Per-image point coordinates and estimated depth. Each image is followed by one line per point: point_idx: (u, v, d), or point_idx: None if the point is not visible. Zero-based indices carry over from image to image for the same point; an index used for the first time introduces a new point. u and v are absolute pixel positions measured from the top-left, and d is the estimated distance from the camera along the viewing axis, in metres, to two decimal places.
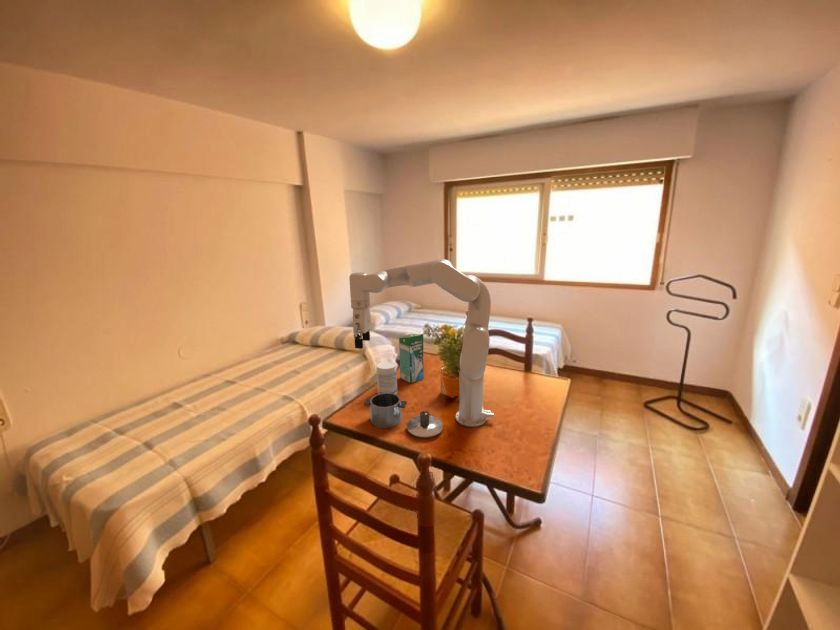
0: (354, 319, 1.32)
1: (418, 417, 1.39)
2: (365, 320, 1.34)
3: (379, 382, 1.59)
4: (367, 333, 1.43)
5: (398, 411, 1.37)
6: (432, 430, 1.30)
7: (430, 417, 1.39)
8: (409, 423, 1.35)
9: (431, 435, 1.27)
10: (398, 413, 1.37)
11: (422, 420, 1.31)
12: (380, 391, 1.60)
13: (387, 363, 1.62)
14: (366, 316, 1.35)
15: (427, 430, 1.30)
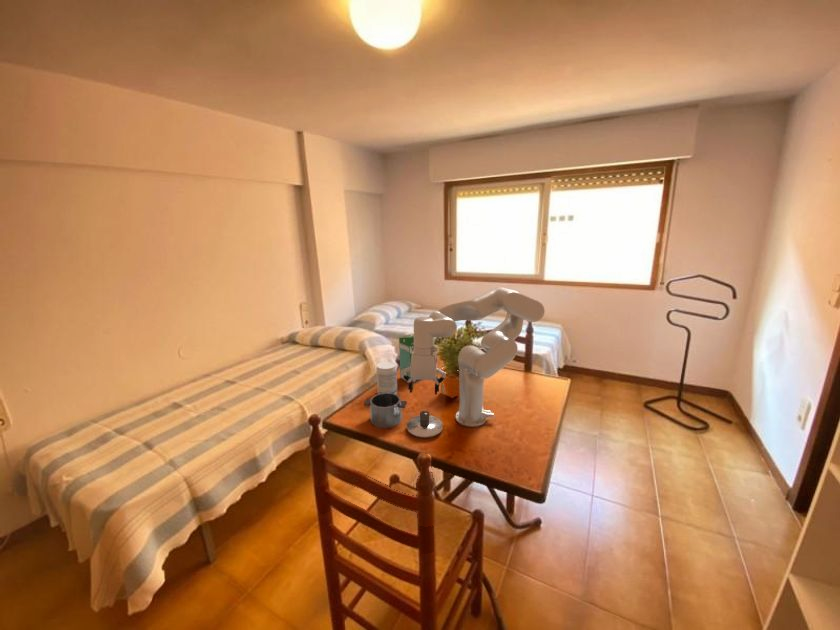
0: (436, 365, 1.25)
1: (418, 417, 1.39)
2: None
3: (379, 382, 1.59)
4: (412, 382, 1.31)
5: (398, 411, 1.37)
6: (432, 430, 1.30)
7: (430, 417, 1.39)
8: (409, 423, 1.34)
9: (431, 435, 1.27)
10: (398, 413, 1.37)
11: (422, 420, 1.31)
12: (380, 391, 1.60)
13: (387, 363, 1.62)
14: None
15: (427, 430, 1.30)
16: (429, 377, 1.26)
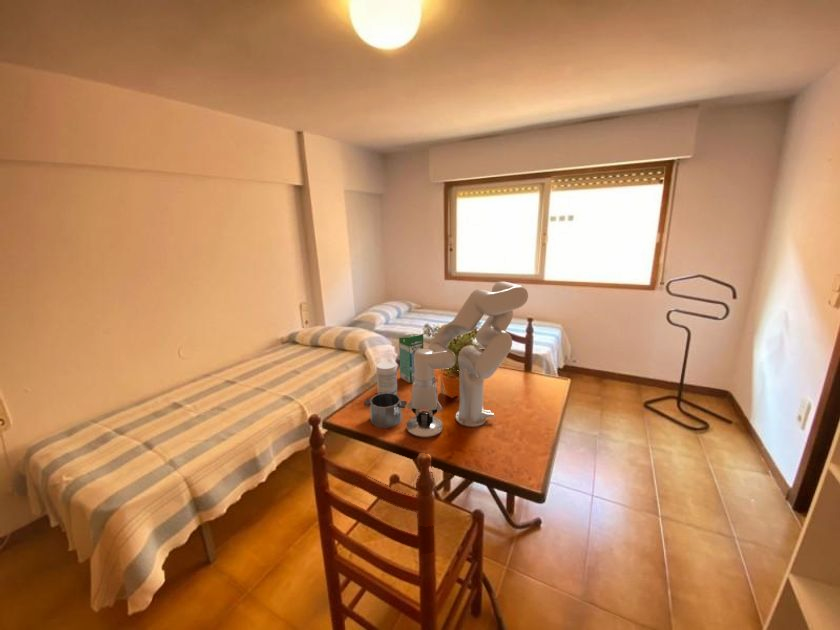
0: (436, 395, 1.28)
1: None
2: None
3: (379, 382, 1.59)
4: None
5: (398, 411, 1.37)
6: (432, 429, 1.30)
7: None
8: (409, 423, 1.34)
9: (432, 434, 1.27)
10: (398, 413, 1.37)
11: (422, 420, 1.31)
12: (380, 391, 1.60)
13: (387, 363, 1.62)
14: None
15: (427, 430, 1.30)
16: (429, 407, 1.29)
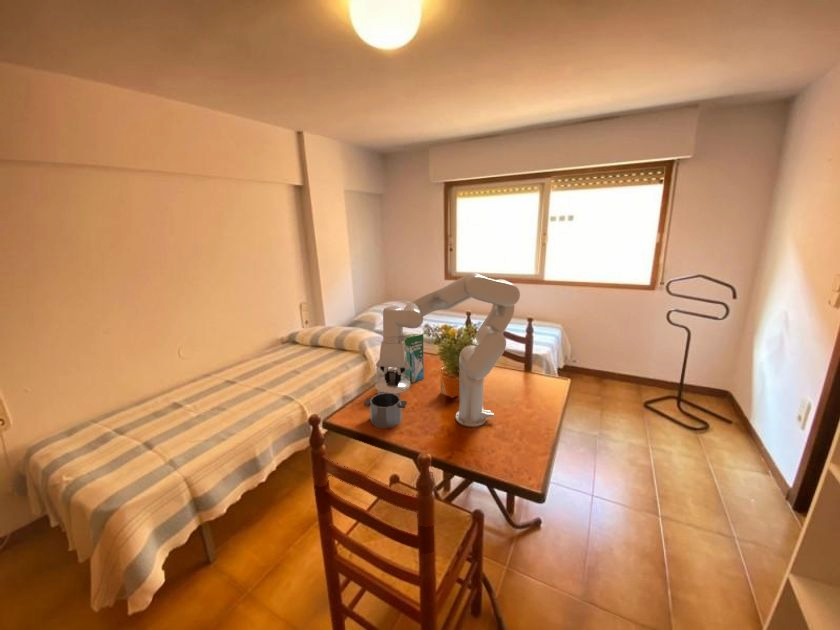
0: (404, 353, 1.30)
1: None
2: None
3: None
4: None
5: (398, 411, 1.37)
6: (400, 387, 1.31)
7: None
8: (377, 382, 1.35)
9: (399, 391, 1.29)
10: (398, 413, 1.37)
11: (390, 378, 1.33)
12: None
13: None
14: None
15: (395, 387, 1.31)
16: (397, 365, 1.30)
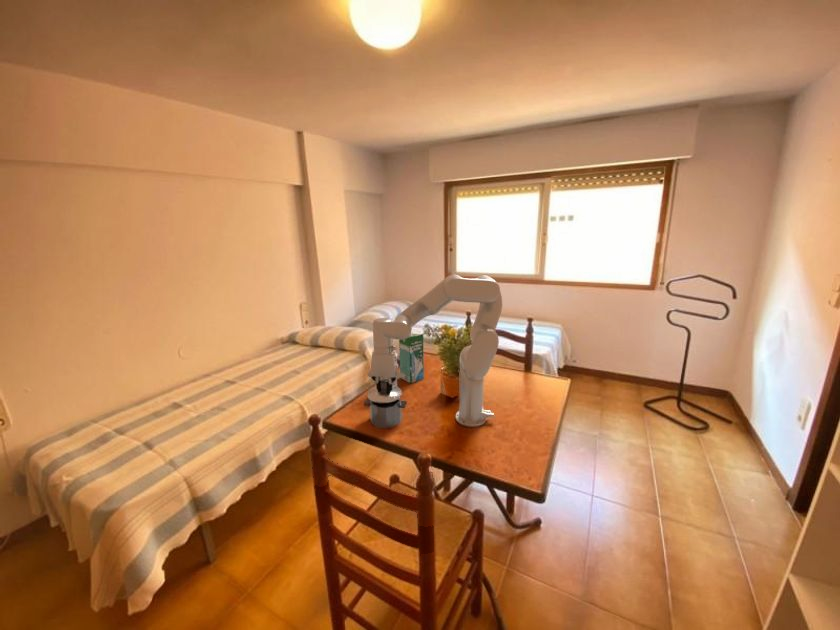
0: (394, 363, 1.33)
1: None
2: None
3: None
4: None
5: (398, 411, 1.37)
6: (391, 396, 1.34)
7: None
8: (369, 391, 1.39)
9: (390, 401, 1.32)
10: (398, 413, 1.37)
11: (381, 387, 1.36)
12: None
13: None
14: None
15: (386, 396, 1.34)
16: (388, 375, 1.34)
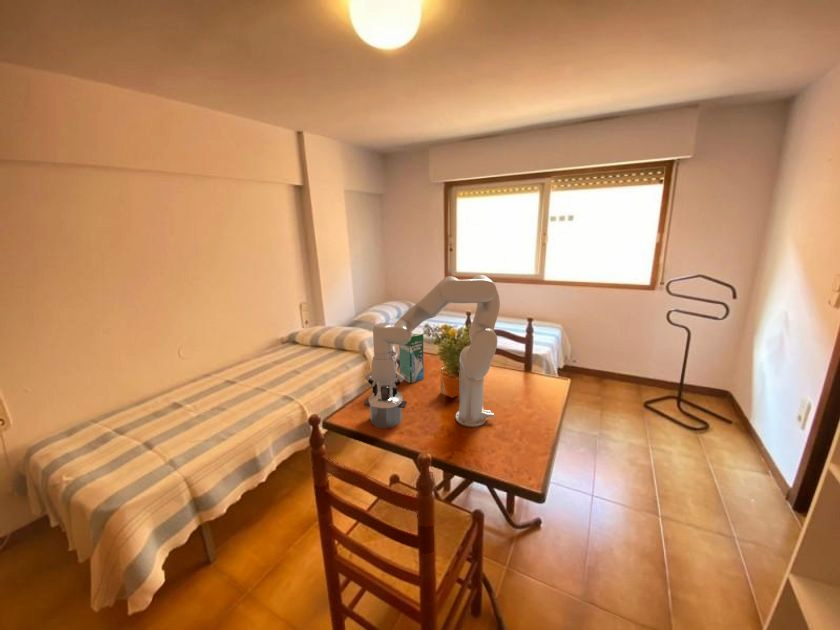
0: (395, 368, 1.34)
1: (380, 392, 1.44)
2: None
3: (379, 382, 1.59)
4: None
5: (398, 411, 1.37)
6: (392, 402, 1.35)
7: (391, 391, 1.44)
8: (370, 397, 1.39)
9: (391, 406, 1.33)
10: (398, 413, 1.37)
11: (382, 393, 1.37)
12: None
13: None
14: None
15: (387, 402, 1.35)
16: (388, 380, 1.34)
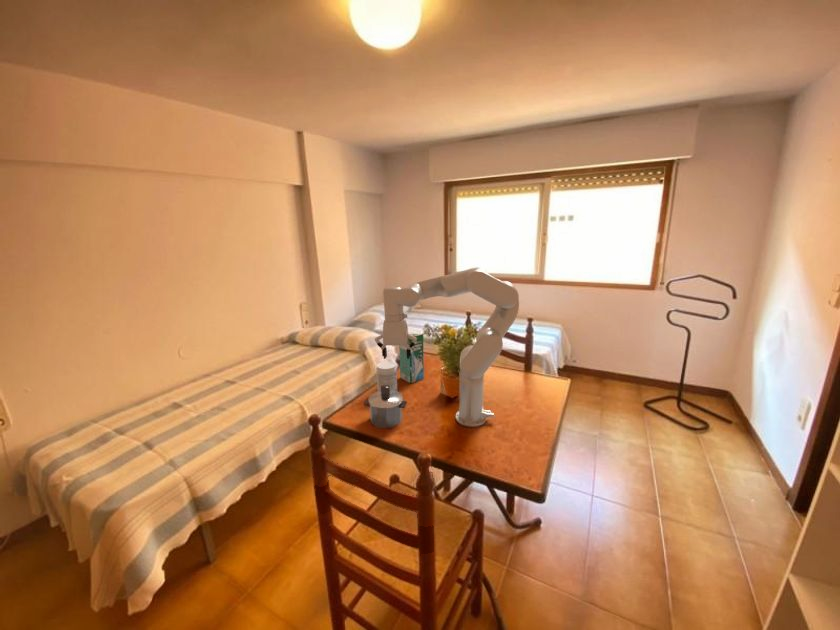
0: (406, 330, 1.35)
1: (380, 392, 1.44)
2: None
3: (379, 382, 1.59)
4: (386, 349, 1.40)
5: (398, 411, 1.37)
6: (392, 402, 1.35)
7: (391, 391, 1.44)
8: (370, 397, 1.39)
9: (391, 406, 1.33)
10: (398, 413, 1.37)
11: (382, 393, 1.37)
12: None
13: (387, 363, 1.62)
14: None
15: (387, 402, 1.35)
16: (400, 343, 1.35)
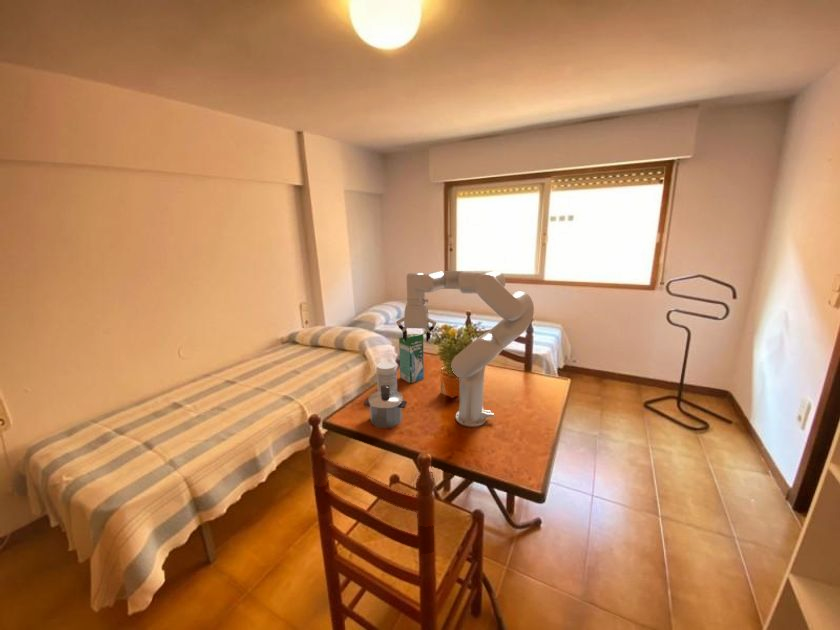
0: (427, 314, 1.42)
1: (380, 392, 1.44)
2: None
3: (379, 382, 1.59)
4: (406, 332, 1.47)
5: (398, 411, 1.37)
6: (392, 402, 1.35)
7: (391, 391, 1.44)
8: (370, 397, 1.39)
9: (391, 406, 1.33)
10: (398, 413, 1.37)
11: (382, 393, 1.37)
12: None
13: (387, 363, 1.62)
14: None
15: (387, 402, 1.35)
16: (421, 326, 1.42)
